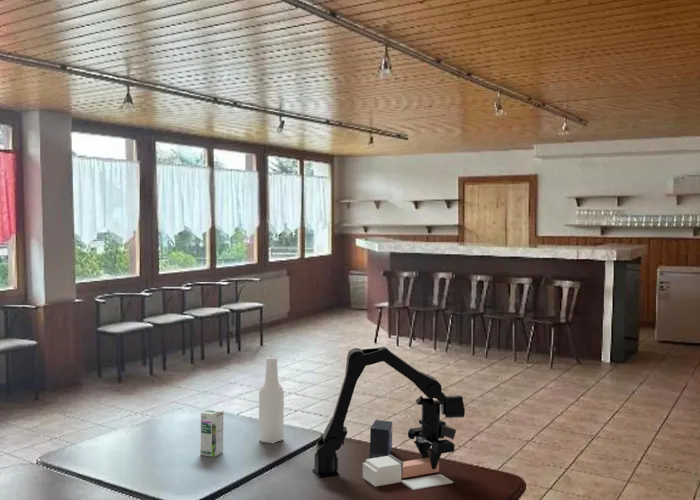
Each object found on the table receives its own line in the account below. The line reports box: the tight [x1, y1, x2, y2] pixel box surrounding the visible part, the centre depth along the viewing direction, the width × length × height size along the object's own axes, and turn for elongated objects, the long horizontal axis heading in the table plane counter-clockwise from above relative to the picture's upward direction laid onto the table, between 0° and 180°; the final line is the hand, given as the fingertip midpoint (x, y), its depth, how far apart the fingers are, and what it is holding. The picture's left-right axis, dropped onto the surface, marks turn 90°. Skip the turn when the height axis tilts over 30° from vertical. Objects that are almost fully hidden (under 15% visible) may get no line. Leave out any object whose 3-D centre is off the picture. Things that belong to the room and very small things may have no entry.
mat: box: [400, 473, 454, 491], centre depth 200 cm, size 14×7×1 cm, turn 115°
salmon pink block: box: [401, 458, 440, 479], centre depth 207 cm, size 13×4×4 cm, turn 115°
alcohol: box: [258, 356, 285, 443], centre depth 238 cm, size 9×9×30 cm
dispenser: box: [362, 453, 404, 487], centre depth 202 cm, size 10×8×6 cm
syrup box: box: [199, 408, 225, 458], centre depth 223 cm, size 6×6×14 cm
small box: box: [368, 419, 393, 459], centre depth 224 cm, size 11×6×10 cm, turn 168°
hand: (430, 466), depth 209 cm, fingers closed on salmon pink block, 4 cm apart
